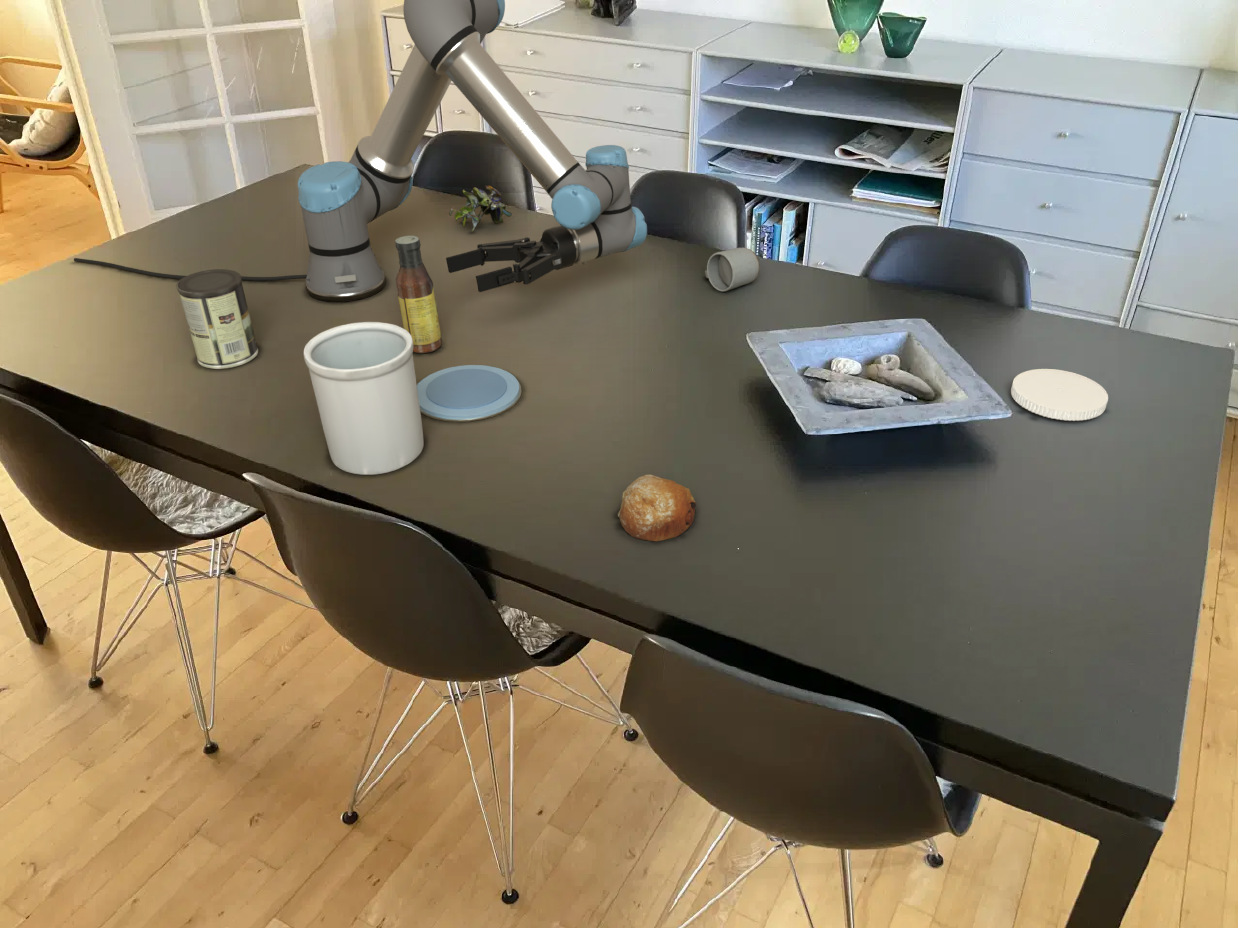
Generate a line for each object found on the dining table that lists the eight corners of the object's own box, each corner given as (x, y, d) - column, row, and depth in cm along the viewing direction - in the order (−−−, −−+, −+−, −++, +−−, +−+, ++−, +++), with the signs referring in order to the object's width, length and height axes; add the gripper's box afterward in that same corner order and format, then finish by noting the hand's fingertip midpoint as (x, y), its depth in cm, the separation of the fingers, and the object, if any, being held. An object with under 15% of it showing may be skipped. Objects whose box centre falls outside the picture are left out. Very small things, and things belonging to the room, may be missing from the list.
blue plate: (390, 409, 157) (389, 402, 156) (449, 361, 170) (448, 355, 170) (487, 431, 151) (487, 424, 150) (540, 380, 164) (539, 373, 164)
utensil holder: (378, 489, 138) (359, 379, 128) (303, 459, 145) (280, 352, 135) (447, 441, 148) (434, 336, 139) (374, 416, 155) (357, 313, 145)
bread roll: (629, 520, 137) (603, 478, 133) (696, 490, 136) (672, 447, 131) (636, 565, 129) (609, 522, 125) (707, 534, 127) (682, 489, 123)
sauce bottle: (449, 344, 176) (437, 237, 165) (425, 358, 172) (411, 249, 161) (421, 336, 179) (407, 230, 168) (397, 349, 174) (382, 241, 164)
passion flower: (496, 245, 231) (523, 207, 224) (468, 252, 222) (495, 212, 216) (465, 212, 232) (490, 172, 226) (436, 217, 223) (461, 176, 217)
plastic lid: (1059, 435, 149) (1063, 420, 147) (990, 394, 159) (993, 381, 158) (1123, 412, 154) (1128, 398, 152) (1053, 375, 164) (1056, 361, 163)
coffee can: (226, 338, 179) (208, 265, 171) (271, 349, 175) (254, 274, 167) (183, 362, 171) (162, 286, 163) (229, 374, 167) (209, 296, 160)
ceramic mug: (761, 285, 196) (763, 248, 192) (732, 296, 192) (733, 259, 188) (723, 271, 203) (724, 235, 199) (694, 281, 199) (695, 244, 195)
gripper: (604, 281, 174) (495, 314, 166) (541, 249, 193) (440, 277, 185) (599, 240, 171) (487, 271, 162) (535, 212, 190) (432, 238, 181)
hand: (462, 274), depth 174 cm, fingers open, 13 cm apart
